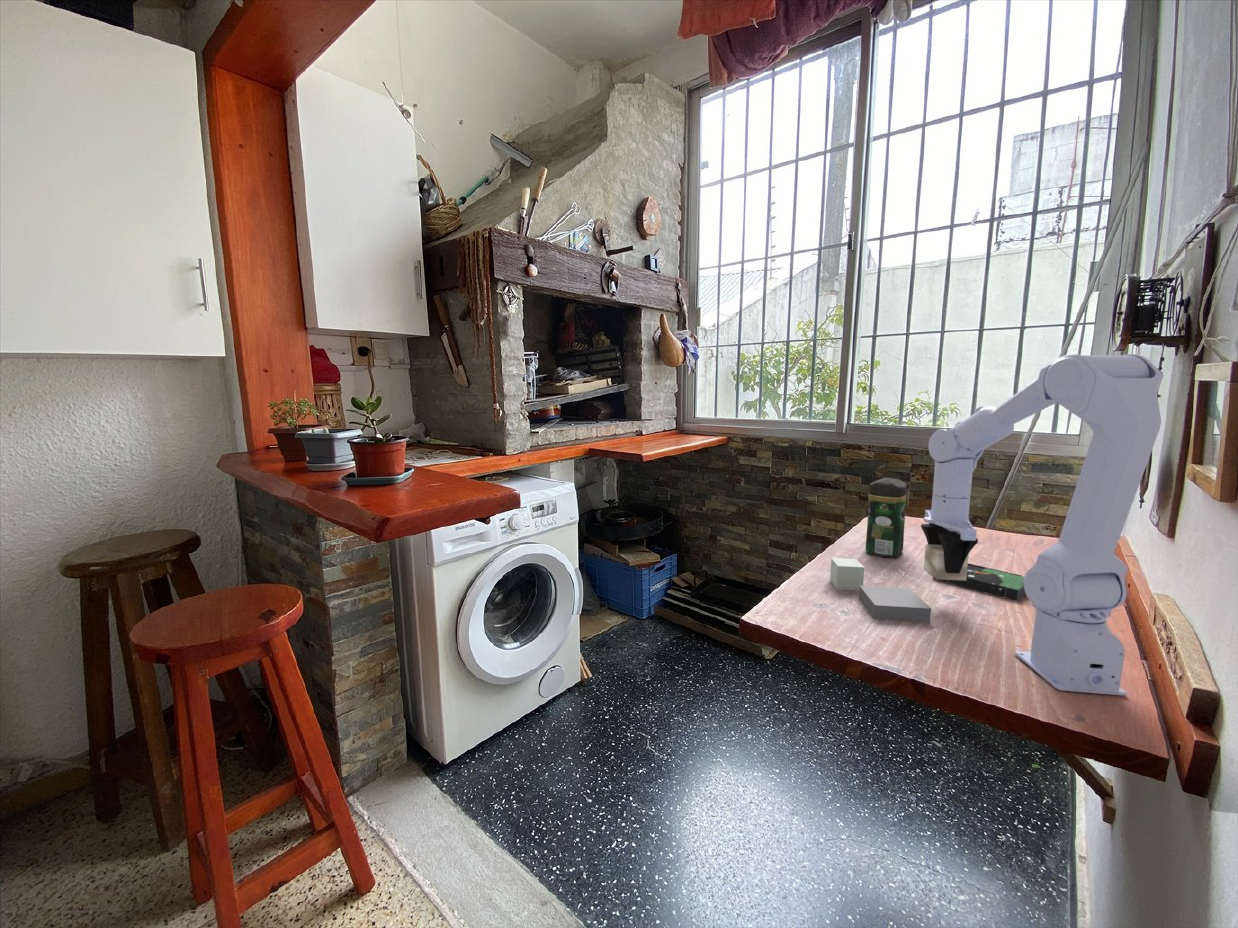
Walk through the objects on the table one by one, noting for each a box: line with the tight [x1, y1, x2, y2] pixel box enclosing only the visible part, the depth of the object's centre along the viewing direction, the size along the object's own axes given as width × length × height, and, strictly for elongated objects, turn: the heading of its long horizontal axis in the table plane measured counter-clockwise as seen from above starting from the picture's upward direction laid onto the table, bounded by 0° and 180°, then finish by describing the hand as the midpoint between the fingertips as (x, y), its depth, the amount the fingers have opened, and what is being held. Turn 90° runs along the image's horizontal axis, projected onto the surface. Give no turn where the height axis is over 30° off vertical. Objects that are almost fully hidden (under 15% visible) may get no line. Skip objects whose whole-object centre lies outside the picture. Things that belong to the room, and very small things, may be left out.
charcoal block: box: [858, 585, 932, 624], centre depth 89 cm, size 9×9×3 cm
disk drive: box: [932, 562, 1027, 602], centre depth 101 cm, size 10×3×15 cm
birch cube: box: [923, 543, 970, 581], centre depth 91 cm, size 5×5×5 cm
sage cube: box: [829, 557, 865, 592], centre depth 101 cm, size 5×5×5 cm
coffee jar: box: [865, 477, 908, 558], centre depth 120 cm, size 10×8×19 cm
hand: (944, 567), depth 91 cm, fingers closed on birch cube, 5 cm apart
